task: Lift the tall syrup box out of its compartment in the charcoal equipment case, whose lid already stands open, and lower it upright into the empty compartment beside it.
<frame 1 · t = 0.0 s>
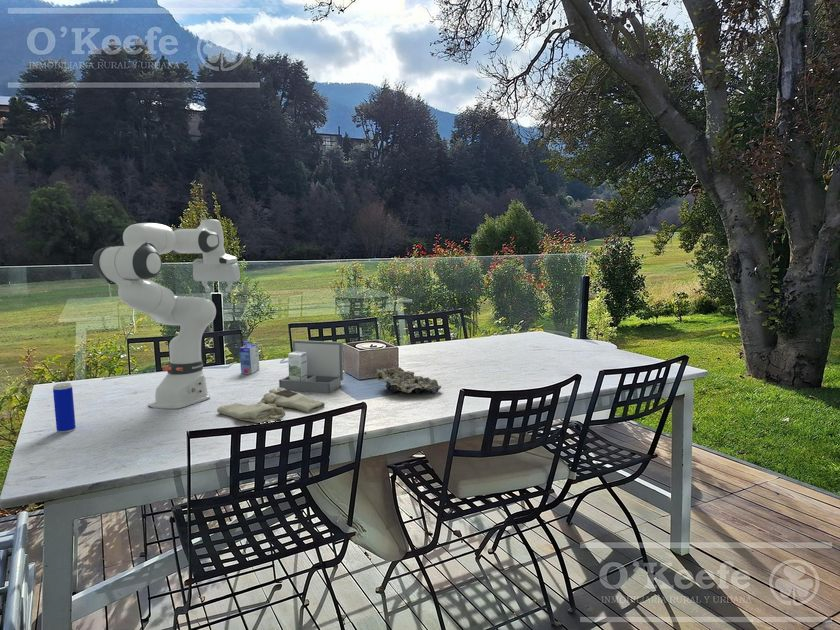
hand: (218, 291, 236), 39 cm above the table, fingers open, 8 cm apart
equipment case: (310, 388, 232), on the table
syrup box: (298, 387, 234), resting in equipment case
pair of gloves: (271, 412, 202), on the table
decorative rock: (406, 391, 229), on the table
ink cartridge box: (250, 372, 262), on the table
beverage can: (66, 431, 181), on the table
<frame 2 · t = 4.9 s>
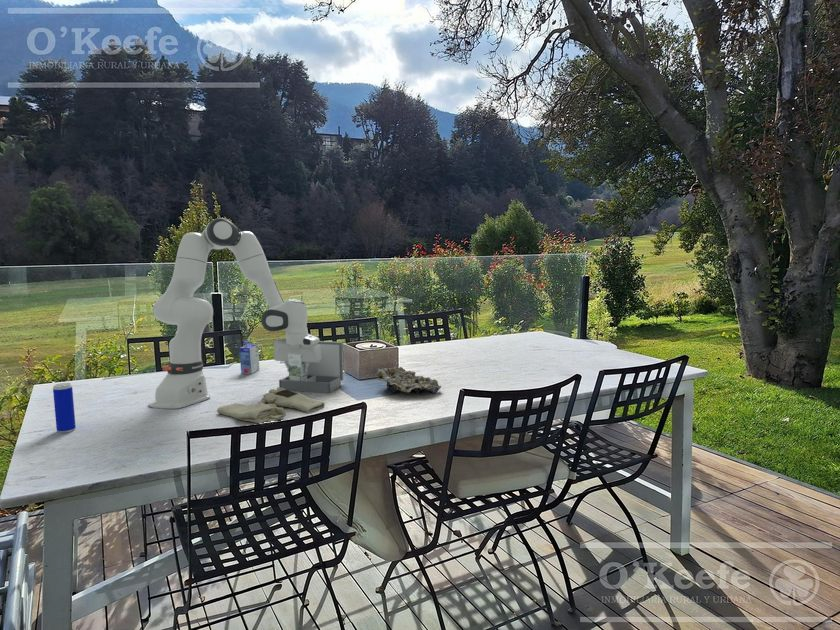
hand: (298, 372, 233), 6 cm above the table, fingers closed on syrup box, 6 cm apart
syrup box: (298, 387, 234), resting in equipment case, touching gripper
everything else where it was.
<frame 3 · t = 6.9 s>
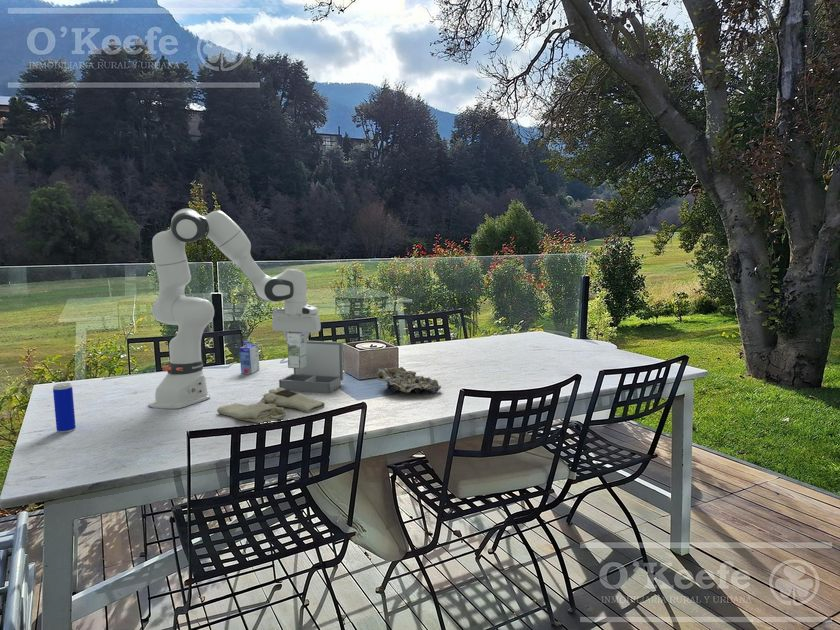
hand: (296, 342, 231), 19 cm above the table, fingers closed on syrup box, 6 cm apart
syrup box: (297, 367, 233), point 8 cm above the table, touching gripper
everything else where it was.
when the fingers open (7 cm above the table, at t = 11.8 s): syrup box stays where it is, resting in equipment case.
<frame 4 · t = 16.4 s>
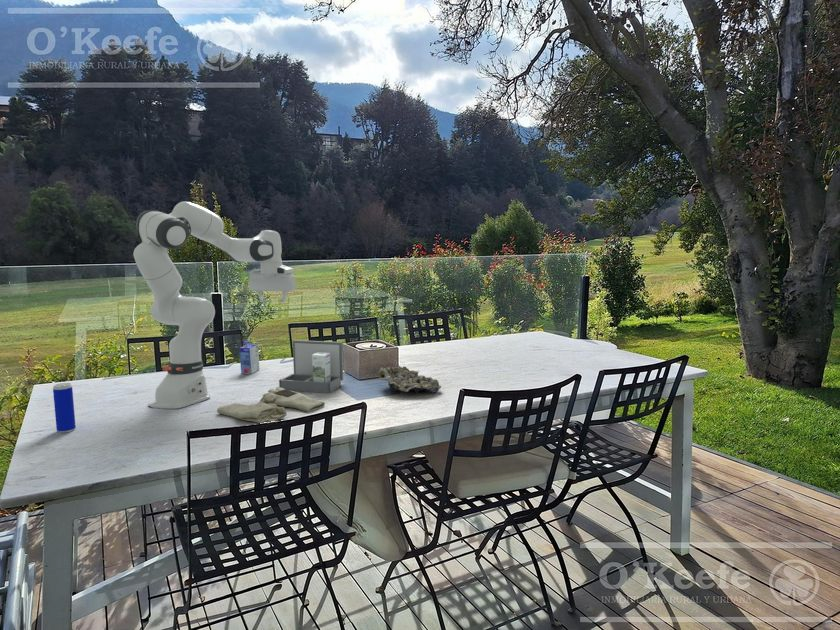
hand: (272, 301, 241), 34 cm above the table, fingers open, 8 cm apart
syrup box: (322, 388, 232), resting in equipment case
at the end: syrup box 0.8 cm from the target spot on the equipment case, point 0.0 cm above the equipment case's base; syrup box tilted 0°; the gripper is holding nothing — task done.
